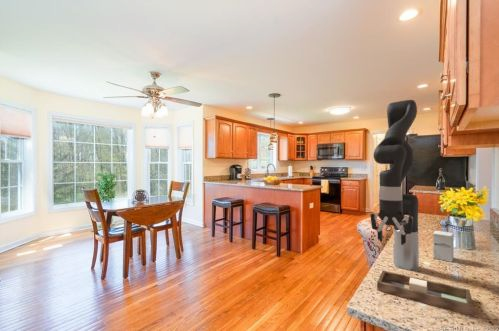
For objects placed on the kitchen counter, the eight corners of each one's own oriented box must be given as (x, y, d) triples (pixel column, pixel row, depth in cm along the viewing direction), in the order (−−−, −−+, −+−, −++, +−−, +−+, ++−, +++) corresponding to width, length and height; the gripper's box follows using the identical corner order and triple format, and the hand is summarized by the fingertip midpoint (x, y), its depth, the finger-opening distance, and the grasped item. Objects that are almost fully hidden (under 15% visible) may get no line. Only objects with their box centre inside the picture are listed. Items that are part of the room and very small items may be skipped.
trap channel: (377, 292, 88) (377, 282, 88) (383, 280, 97) (382, 270, 97) (474, 319, 72) (473, 306, 72) (469, 301, 82) (469, 289, 82)
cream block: (409, 294, 85) (409, 282, 85) (410, 288, 89) (410, 277, 89) (426, 298, 82) (426, 286, 82) (427, 292, 86) (426, 281, 86)
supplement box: (432, 258, 119) (432, 232, 119) (435, 254, 124) (434, 229, 124) (452, 262, 113) (451, 235, 113) (454, 258, 118) (453, 232, 118)
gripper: (414, 198, 89) (415, 243, 89) (371, 196, 98) (372, 237, 98) (412, 200, 83) (413, 249, 83) (367, 198, 92) (368, 241, 92)
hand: (391, 242), depth 90 cm, fingers open, 6 cm apart
